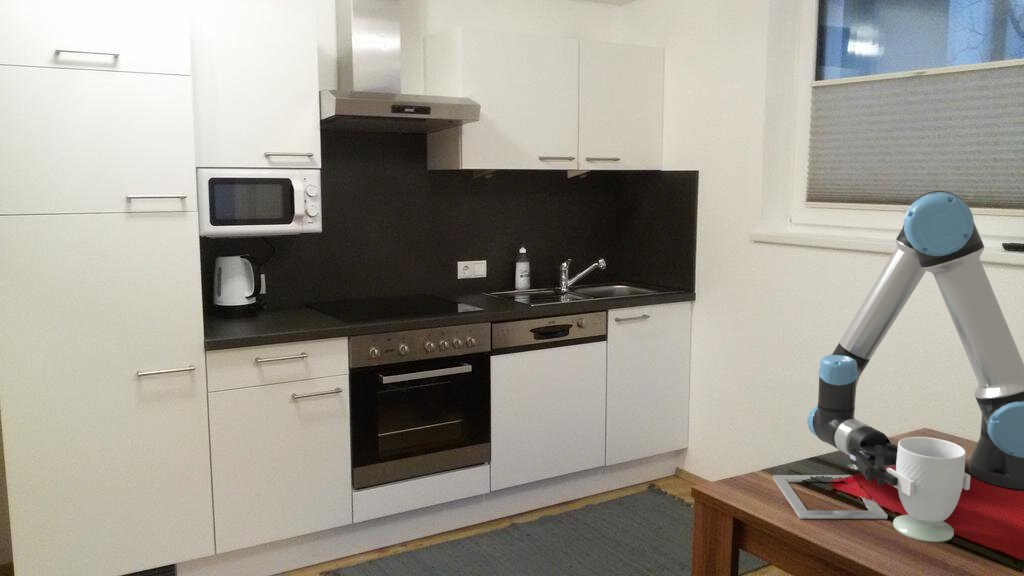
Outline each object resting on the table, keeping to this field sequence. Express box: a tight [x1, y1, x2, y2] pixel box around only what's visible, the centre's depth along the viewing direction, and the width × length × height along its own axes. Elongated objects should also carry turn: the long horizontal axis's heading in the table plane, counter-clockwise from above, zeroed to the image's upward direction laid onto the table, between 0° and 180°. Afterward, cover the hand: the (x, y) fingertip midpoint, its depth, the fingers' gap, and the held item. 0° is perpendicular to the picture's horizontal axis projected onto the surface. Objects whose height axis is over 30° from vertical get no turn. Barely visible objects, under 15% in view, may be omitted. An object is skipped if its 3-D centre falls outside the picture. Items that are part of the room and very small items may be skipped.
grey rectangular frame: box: [772, 474, 888, 520], centre depth 161 cm, size 16×20×1 cm
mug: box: [895, 436, 967, 522], centre depth 146 cm, size 15×11×13 cm
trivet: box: [892, 513, 955, 543], centre depth 147 cm, size 10×10×1 cm
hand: (940, 485), depth 141 cm, fingers closed on mug, 11 cm apart
